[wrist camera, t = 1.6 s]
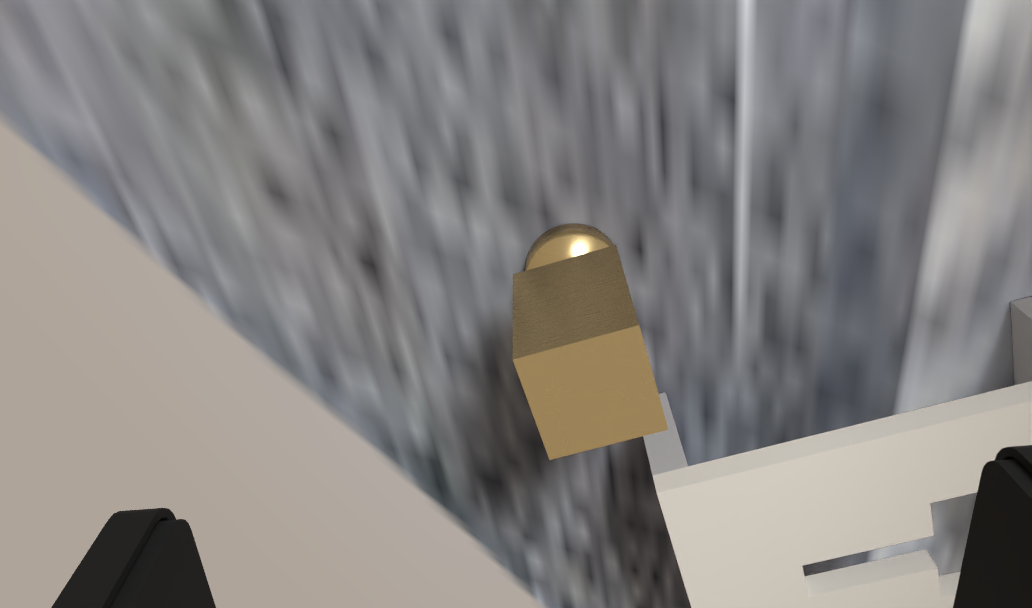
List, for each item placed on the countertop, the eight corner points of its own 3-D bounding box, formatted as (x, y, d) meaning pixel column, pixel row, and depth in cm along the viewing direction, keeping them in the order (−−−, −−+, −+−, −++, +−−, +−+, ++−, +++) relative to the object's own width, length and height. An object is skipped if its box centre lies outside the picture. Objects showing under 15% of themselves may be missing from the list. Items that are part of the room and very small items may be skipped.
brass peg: (606, 211, 37) (639, 325, 27) (629, 295, 39) (668, 429, 29) (513, 239, 37) (512, 359, 28) (540, 320, 39) (549, 460, 29)
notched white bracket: (1045, 292, 38) (1152, 371, 32) (1051, 512, 44) (1143, 616, 38) (634, 400, 41) (656, 493, 35) (692, 594, 47) (720, 704, 41)
